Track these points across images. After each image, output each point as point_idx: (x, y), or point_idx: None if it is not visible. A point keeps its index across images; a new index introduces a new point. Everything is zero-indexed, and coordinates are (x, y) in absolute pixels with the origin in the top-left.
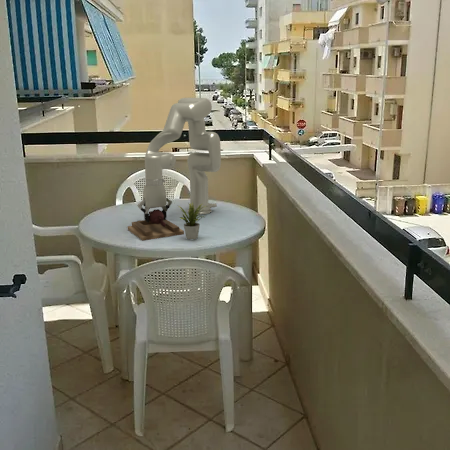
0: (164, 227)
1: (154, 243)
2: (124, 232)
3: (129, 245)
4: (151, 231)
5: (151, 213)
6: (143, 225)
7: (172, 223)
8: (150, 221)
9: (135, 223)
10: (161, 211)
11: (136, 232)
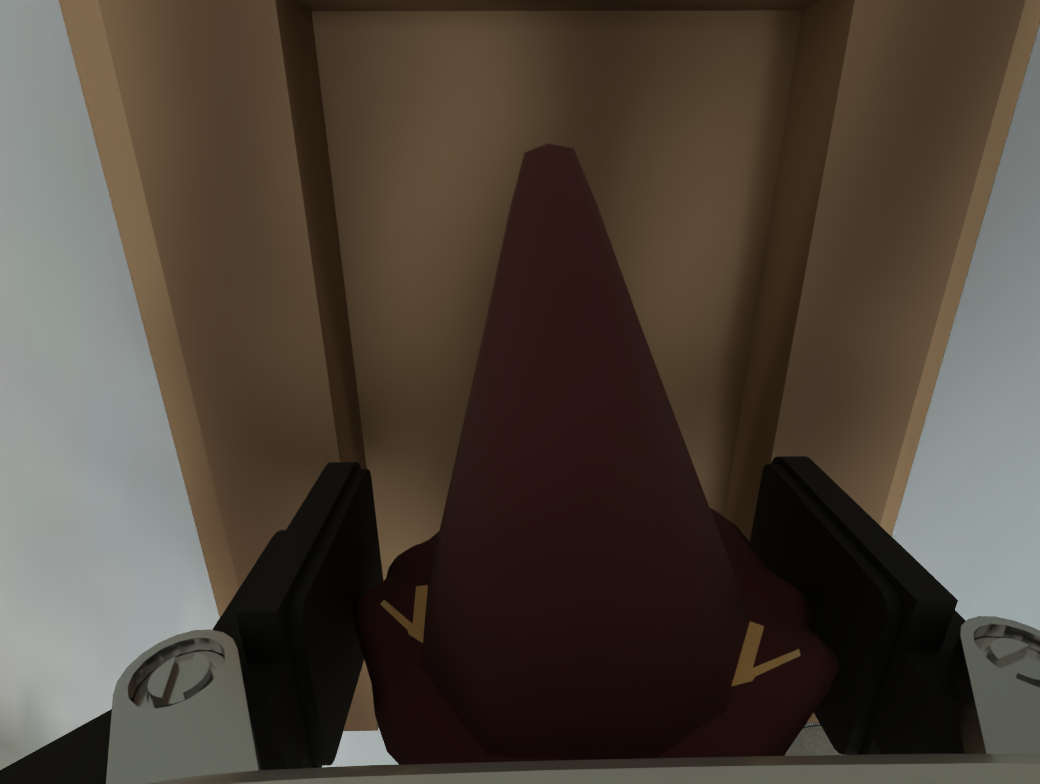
0: (722, 401)
1: (369, 765)
2: (23, 140)
3: (84, 722)
4: (363, 728)
5: (427, 744)
6: (320, 384)
7: (871, 510)
8: (428, 547)
9: (170, 128)
10: (811, 700)
11: (191, 454)
